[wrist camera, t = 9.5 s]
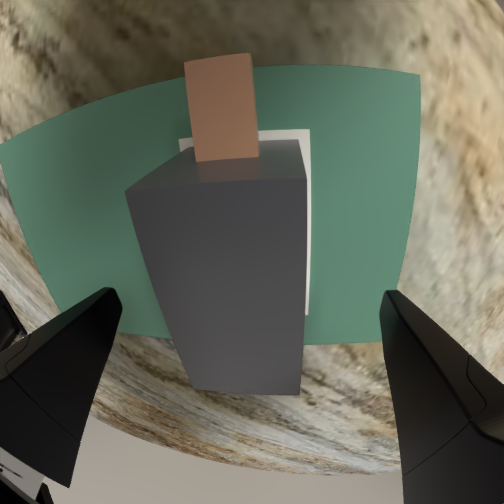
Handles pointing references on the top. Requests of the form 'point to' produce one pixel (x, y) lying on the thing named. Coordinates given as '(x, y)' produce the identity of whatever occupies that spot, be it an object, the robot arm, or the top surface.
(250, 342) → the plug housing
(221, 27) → the top surface
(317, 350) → the top surface
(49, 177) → the board
